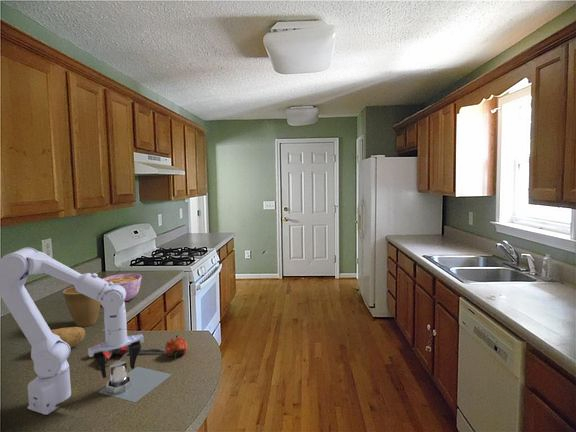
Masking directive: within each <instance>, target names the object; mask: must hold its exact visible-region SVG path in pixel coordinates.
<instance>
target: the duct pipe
mask: <svg viewBox="0 0 576 432" xmlns="http://www.w3.org/2000/svg"><path fill="white" fill-rule="evenodd" d="M127 368H128V367H127V362H126V361H125V360H122V361H119V360H117V361H114V362H112V363H110V366H109V373H110V374H109V375H110V379H111V387H118V386H123V385H125V384H126V383H128V382H127V373H128V370H127Z"/></svg>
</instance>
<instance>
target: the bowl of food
mask: <svg viewBox="0 0 576 432" xmlns="http://www.w3.org/2000/svg"><path fill="white" fill-rule="evenodd" d="M142 277H143V276H142V275H141V274H139V273H123V274H121V273H119V274H115V275H110V276H107V277H104V278H102V279H103V280H105V281H107V282H109V283H110V282H112V283H114V284H120V285H121V286H123V287H124V288H125V290H126V297H125V299H124V302H125V303H127V302H129V301H130V300H131V299H134V297H136V296H137V295H138V293H139V291H140V287H141V283H142Z"/></svg>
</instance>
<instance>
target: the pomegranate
mask: <svg viewBox="0 0 576 432" xmlns="http://www.w3.org/2000/svg"><path fill="white" fill-rule="evenodd" d="M164 350H165V352H164V353H166V354H167V356H168V357H174V359H175V360H176V359H177V356H183V355H185V354H186V353H187V350H188V343H187V341H186V339H184V338H183V337H179V335H176V336H175V337H174V338H171V339H169V340H168V341H167V342H166V344H165V346H164Z"/></svg>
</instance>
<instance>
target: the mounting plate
mask: <svg viewBox="0 0 576 432" xmlns="http://www.w3.org/2000/svg"><path fill="white" fill-rule="evenodd" d="M127 375H128V376H132V387H131V388H130V389H128V390H127V391H126V392H123V393H119V394H114V395H113V394H109V393H107V392H106V386H105V387H104V388H102V389H101V390H99V391H98V393H100V394H103V395H106V396H111V397H113V398H117V399H121V400H124V401H128V402H132V403H137V402H138V401H140V400H141V399H142V398H143V397H144V396H146V395H147V394H149V393H150V392H151V391H152V390H154V389H155V388H156V387H158V386H159V385H161V383H164V381H166V380H167V379H168V378H169V377H171V376H172V373H167V372H164V371H158V370H154V369H150V368H145V367H140V366H136V367H134V369H131V370H130V371H129V372H128V371H127Z"/></svg>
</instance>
